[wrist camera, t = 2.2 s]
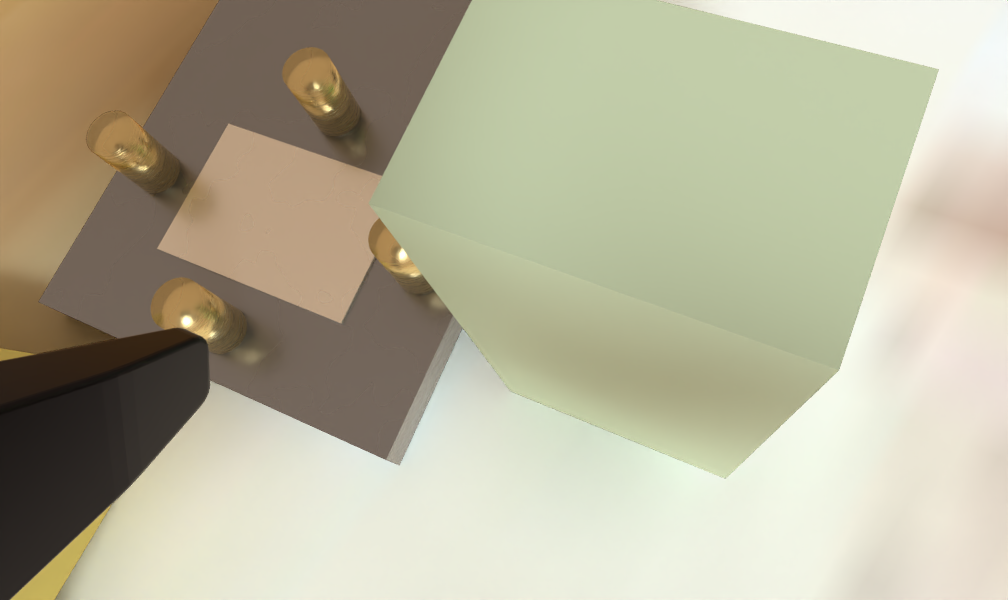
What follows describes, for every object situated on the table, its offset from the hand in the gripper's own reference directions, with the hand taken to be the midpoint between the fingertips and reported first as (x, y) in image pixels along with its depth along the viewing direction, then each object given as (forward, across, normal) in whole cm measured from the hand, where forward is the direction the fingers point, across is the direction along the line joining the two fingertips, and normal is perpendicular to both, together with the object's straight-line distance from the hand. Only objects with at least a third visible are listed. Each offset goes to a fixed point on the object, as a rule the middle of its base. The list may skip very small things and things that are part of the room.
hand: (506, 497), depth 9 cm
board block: (+11, 0, +5) cm, 12 cm away
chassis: (+13, +11, +3) cm, 17 cm away
